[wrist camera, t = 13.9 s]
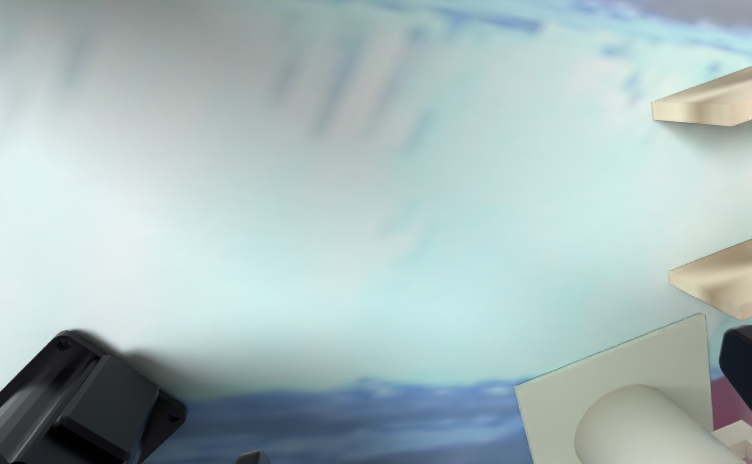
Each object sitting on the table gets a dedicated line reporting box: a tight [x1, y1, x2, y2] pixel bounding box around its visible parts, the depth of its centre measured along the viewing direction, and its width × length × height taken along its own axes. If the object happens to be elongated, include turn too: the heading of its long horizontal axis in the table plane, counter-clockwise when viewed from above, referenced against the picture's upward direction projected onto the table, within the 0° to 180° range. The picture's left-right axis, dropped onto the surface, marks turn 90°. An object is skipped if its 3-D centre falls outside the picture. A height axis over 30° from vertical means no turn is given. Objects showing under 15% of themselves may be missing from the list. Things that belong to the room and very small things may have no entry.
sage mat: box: [514, 313, 714, 464], centre depth 26 cm, size 11×11×1 cm
